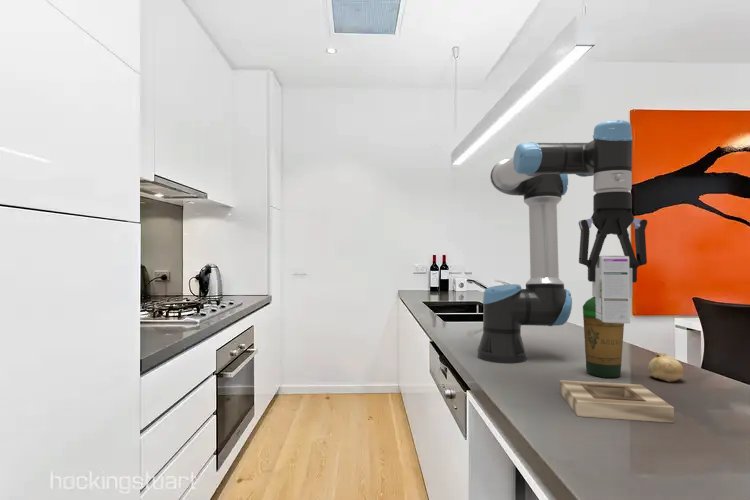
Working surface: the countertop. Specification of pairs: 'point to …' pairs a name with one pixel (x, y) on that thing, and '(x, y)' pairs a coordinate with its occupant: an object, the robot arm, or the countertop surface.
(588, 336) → the bottle
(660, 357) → the onion
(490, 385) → the countertop surface
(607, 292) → the syrup box
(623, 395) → the beige flat square frame
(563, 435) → the countertop surface
